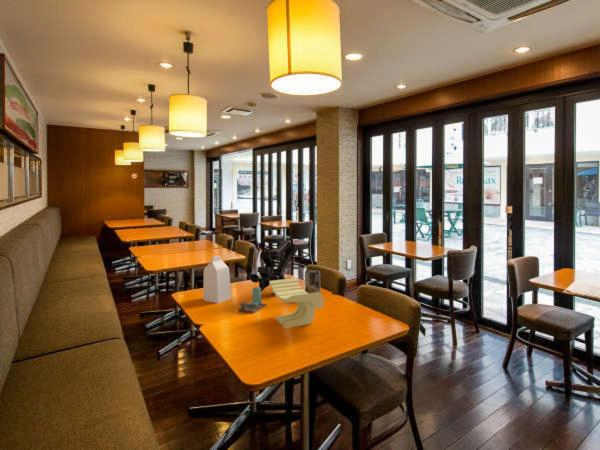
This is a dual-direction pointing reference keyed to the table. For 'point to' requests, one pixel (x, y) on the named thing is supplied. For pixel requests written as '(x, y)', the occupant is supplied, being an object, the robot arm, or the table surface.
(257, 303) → the teal block
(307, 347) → the table surface
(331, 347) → the table surface
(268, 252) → the robot arm
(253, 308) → the bracket
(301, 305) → the slatted curved stool
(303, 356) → the table surface
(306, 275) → the coffee box
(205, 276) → the milk
